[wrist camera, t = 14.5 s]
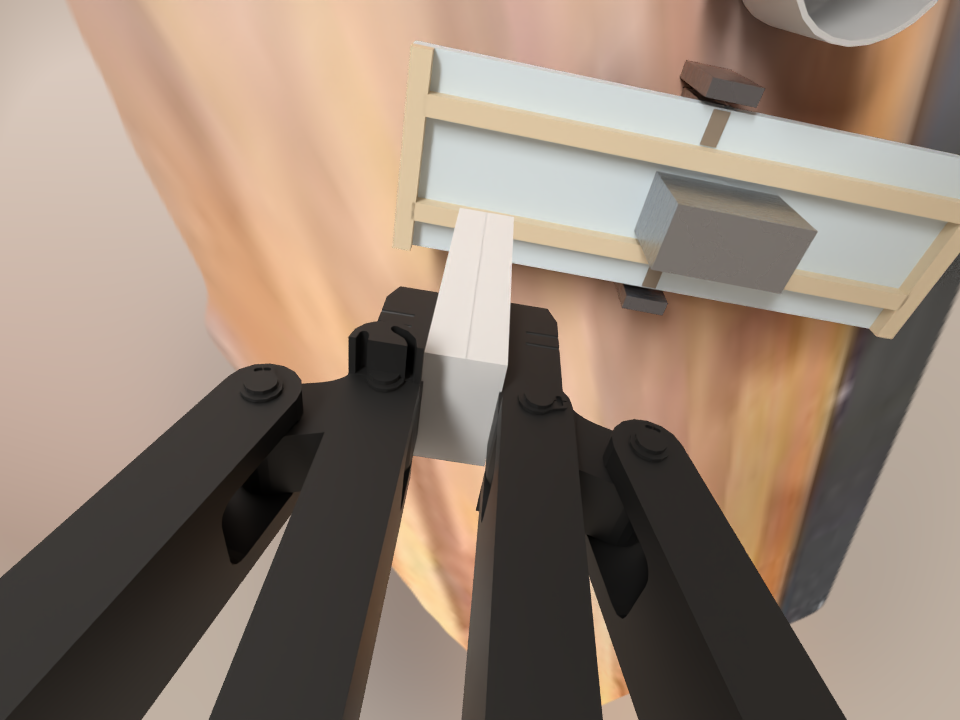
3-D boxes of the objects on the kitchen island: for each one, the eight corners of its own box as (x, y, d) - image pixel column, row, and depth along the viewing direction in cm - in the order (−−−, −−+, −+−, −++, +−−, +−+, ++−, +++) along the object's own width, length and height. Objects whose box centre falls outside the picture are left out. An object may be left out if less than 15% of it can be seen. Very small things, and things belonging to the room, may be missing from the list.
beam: (416, 40, 31) (410, 45, 29) (993, 162, 34) (1020, 174, 32) (397, 234, 38) (392, 247, 36) (875, 322, 41) (892, 339, 39)
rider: (656, 170, 34) (678, 204, 29) (778, 195, 34) (818, 231, 30) (633, 230, 36) (651, 269, 32) (748, 252, 37) (780, 293, 32)
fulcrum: (686, 60, 35) (712, 77, 30) (731, 69, 35) (765, 88, 30) (610, 268, 44) (621, 307, 39) (646, 275, 44) (662, 315, 39)
